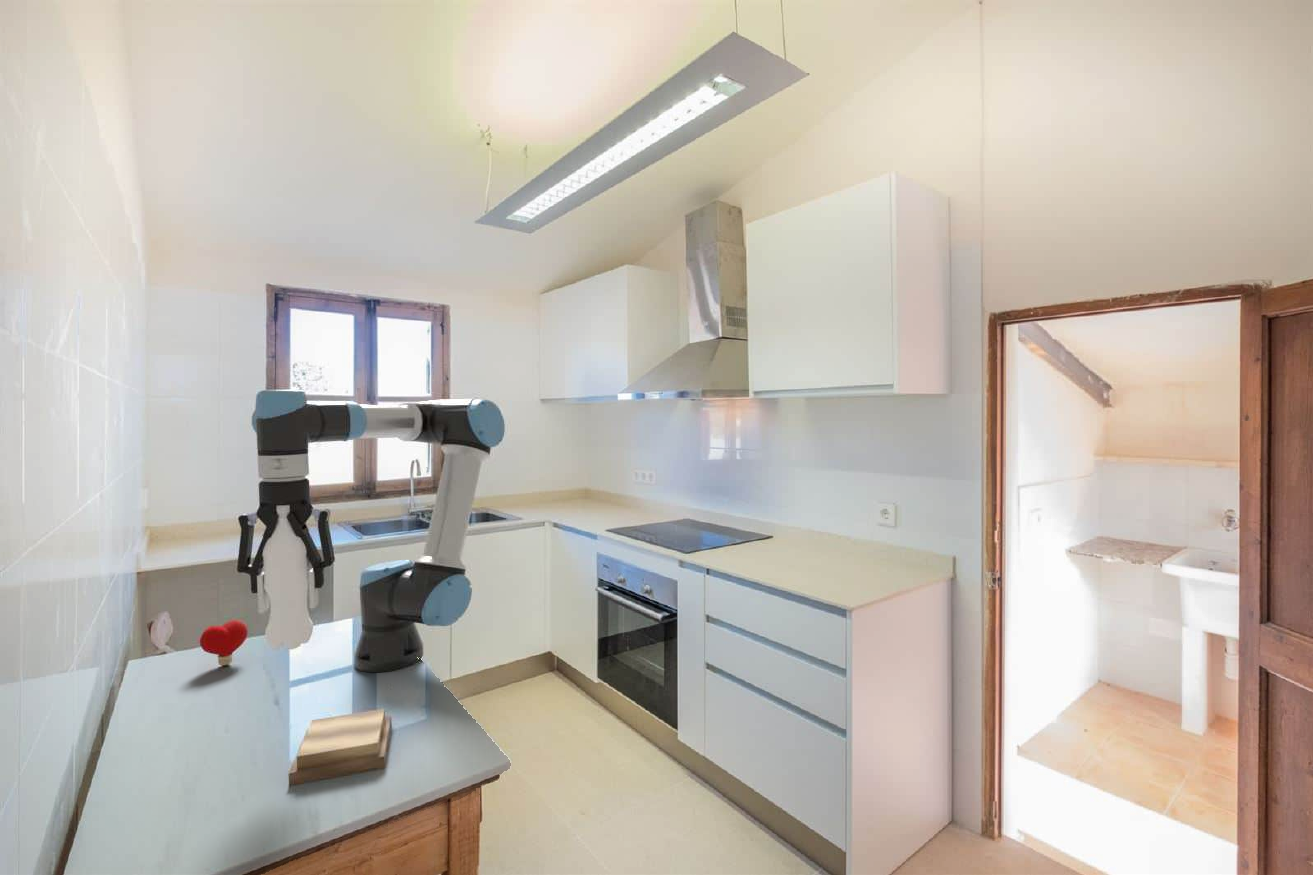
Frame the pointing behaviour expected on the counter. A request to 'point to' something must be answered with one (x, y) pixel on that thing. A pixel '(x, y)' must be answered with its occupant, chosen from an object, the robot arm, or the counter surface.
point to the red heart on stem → (224, 640)
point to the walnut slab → (343, 763)
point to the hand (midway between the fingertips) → (289, 608)
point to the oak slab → (342, 738)
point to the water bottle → (286, 586)
